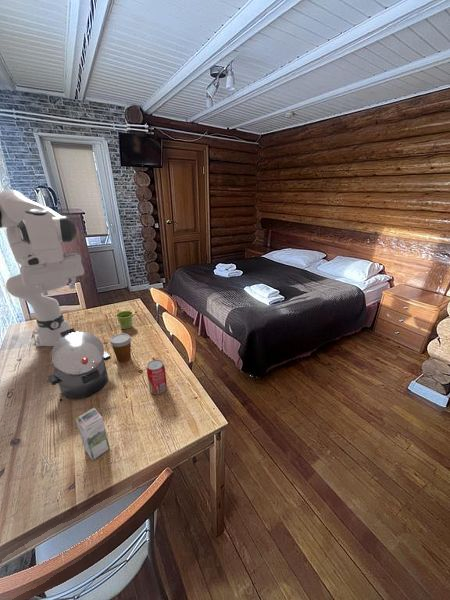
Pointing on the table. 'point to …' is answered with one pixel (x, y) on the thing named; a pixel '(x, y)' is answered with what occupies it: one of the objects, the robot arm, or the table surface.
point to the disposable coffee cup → (121, 347)
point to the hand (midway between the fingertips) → (59, 291)
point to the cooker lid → (77, 353)
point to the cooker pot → (81, 381)
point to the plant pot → (125, 319)
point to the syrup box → (93, 433)
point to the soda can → (156, 376)
